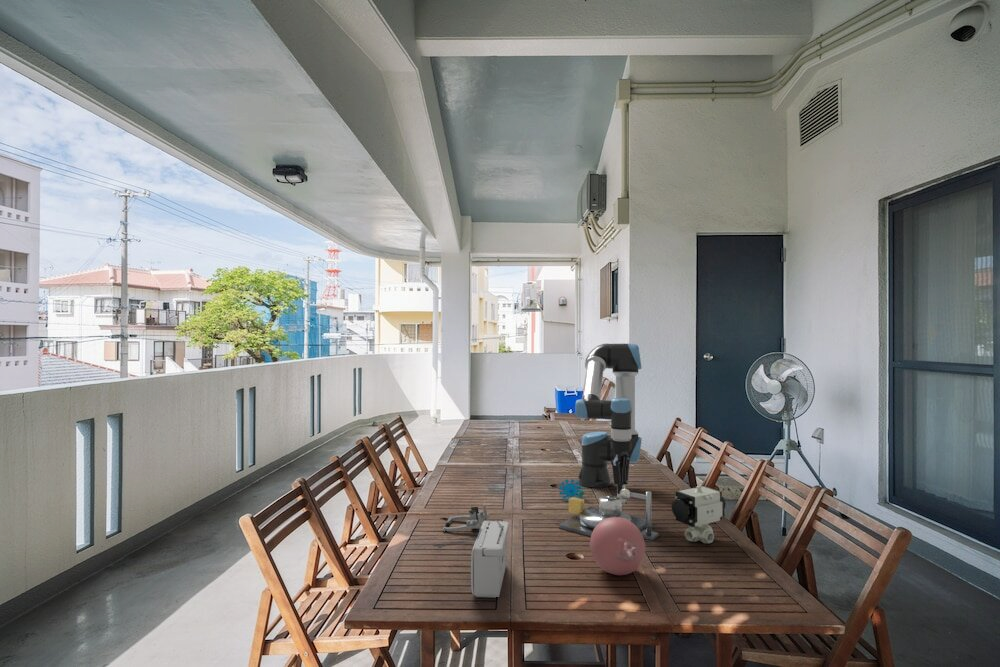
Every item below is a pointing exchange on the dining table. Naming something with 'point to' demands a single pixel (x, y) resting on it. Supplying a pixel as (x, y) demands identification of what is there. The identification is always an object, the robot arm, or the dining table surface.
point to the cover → (610, 506)
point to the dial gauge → (646, 533)
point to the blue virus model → (571, 489)
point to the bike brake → (469, 520)
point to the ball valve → (699, 511)
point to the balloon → (617, 546)
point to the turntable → (589, 513)
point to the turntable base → (576, 526)
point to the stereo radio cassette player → (489, 559)
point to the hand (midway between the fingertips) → (621, 501)
